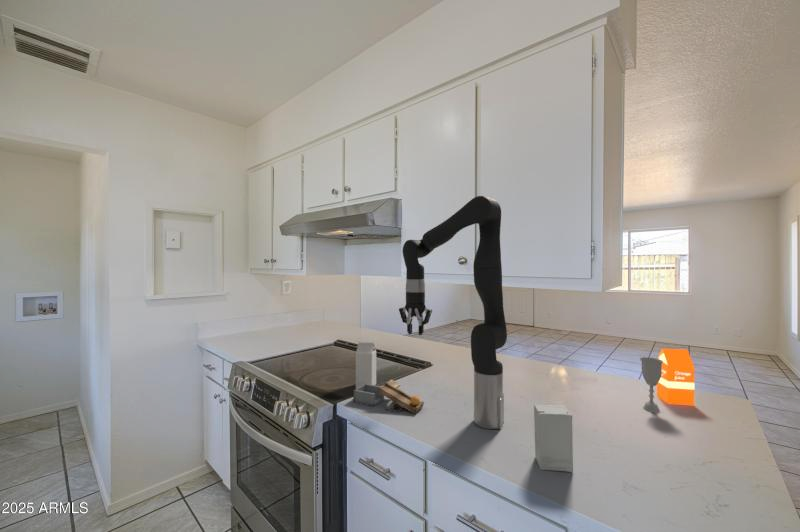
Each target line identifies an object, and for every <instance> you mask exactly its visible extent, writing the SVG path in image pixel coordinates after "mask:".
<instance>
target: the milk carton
mask: <svg viewBox="0 0 800 532" xmlns="http://www.w3.org/2000/svg"><path fill="white" fill-rule="evenodd" d="M363 384H370V385H375V386H377V348H376V347H375V342H366V341H358V343H357V348H356V352H355V389H356V388H358V387H360V386H361V385H363Z"/></svg>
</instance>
